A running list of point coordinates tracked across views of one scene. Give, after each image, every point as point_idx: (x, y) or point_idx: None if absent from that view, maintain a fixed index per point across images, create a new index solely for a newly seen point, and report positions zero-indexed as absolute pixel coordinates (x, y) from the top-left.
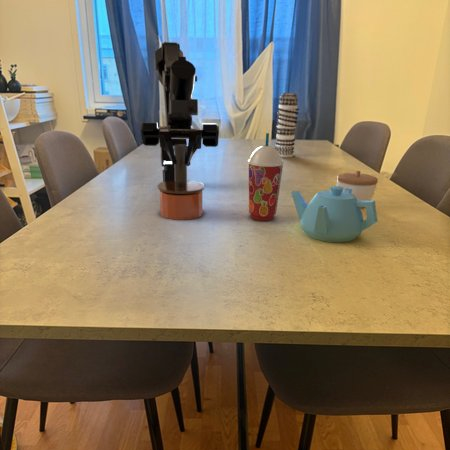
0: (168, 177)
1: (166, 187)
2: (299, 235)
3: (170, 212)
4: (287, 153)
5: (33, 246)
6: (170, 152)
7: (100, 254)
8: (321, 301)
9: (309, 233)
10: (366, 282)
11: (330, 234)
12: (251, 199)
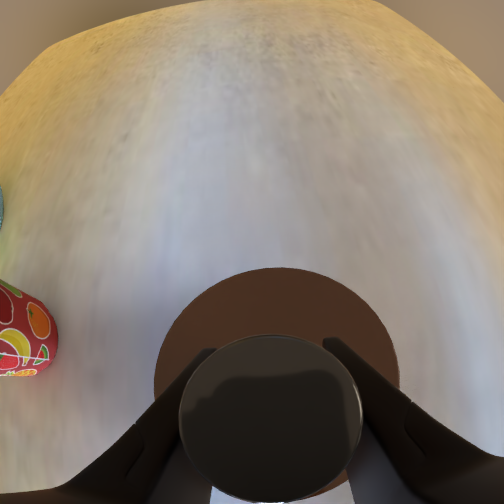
0: None
1: (348, 335)
2: (12, 215)
3: None
4: None
5: (496, 119)
6: (381, 386)
7: (386, 83)
8: (97, 45)
9: (2, 196)
10: (36, 88)
11: None
12: (23, 306)
